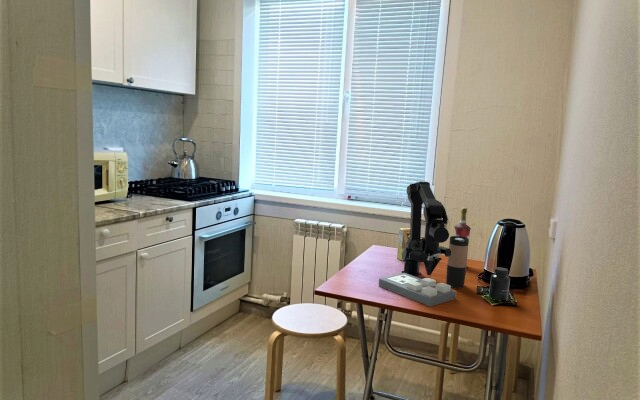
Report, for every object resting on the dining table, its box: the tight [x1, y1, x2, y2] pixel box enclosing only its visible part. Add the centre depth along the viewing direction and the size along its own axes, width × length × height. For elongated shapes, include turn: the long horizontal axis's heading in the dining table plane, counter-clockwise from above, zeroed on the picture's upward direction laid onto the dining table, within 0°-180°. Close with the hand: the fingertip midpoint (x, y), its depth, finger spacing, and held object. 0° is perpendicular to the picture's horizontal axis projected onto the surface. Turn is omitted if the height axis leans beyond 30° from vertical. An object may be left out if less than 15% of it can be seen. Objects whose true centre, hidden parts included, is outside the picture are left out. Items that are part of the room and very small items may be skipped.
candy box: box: [396, 227, 410, 261], centre depth 229 cm, size 9×4×15 cm, turn 113°
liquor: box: [453, 207, 471, 240], centre depth 219 cm, size 7×7×28 cm
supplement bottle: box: [488, 266, 511, 301], centre depth 179 cm, size 7×7×12 cm
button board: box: [378, 272, 457, 307], centre depth 183 cm, size 15×26×3 cm, turn 38°
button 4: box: [435, 282, 452, 293], centre depth 178 cm, size 4×4×3 cm
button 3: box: [421, 286, 437, 297], centre depth 173 cm, size 4×4×3 cm
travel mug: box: [445, 235, 470, 289], centre depth 192 cm, size 8×8×20 cm
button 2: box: [420, 277, 437, 287], centre depth 183 cm, size 4×4×3 cm
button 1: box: [407, 281, 423, 291], centre depth 178 cm, size 4×4×3 cm
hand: (428, 275), depth 183 cm, fingers closed
